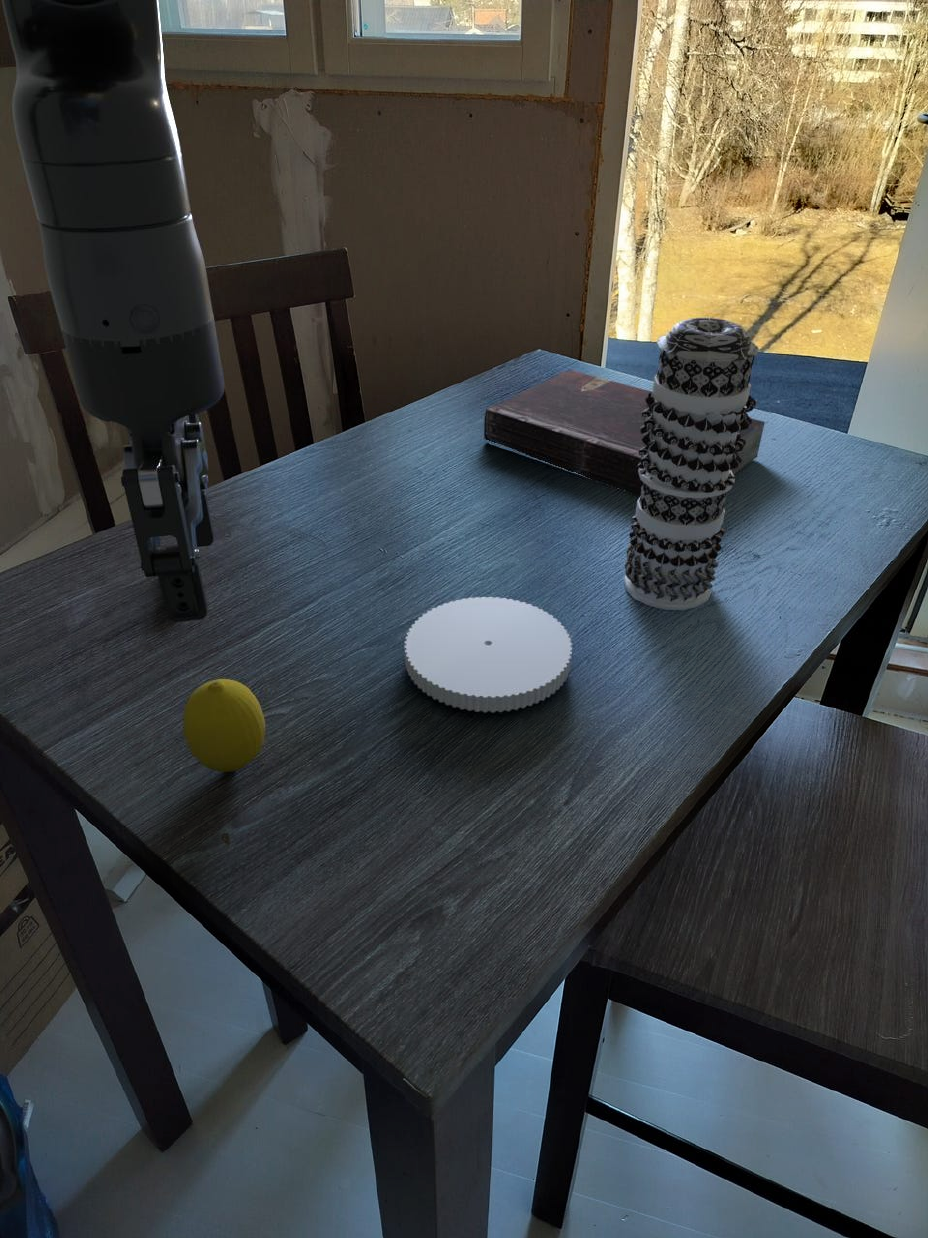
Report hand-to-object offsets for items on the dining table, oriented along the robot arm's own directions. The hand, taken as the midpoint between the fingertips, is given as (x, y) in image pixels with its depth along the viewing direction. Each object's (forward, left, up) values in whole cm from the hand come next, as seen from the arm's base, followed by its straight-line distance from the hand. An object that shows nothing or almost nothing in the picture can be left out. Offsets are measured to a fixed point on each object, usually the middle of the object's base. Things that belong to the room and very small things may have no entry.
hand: (193, 578), depth 53 cm
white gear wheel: (+21, +8, -17) cm, 28 cm away
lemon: (0, 0, -17) cm, 17 cm away
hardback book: (+47, +48, -17) cm, 69 cm away
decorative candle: (+41, +17, -17) cm, 47 cm away
